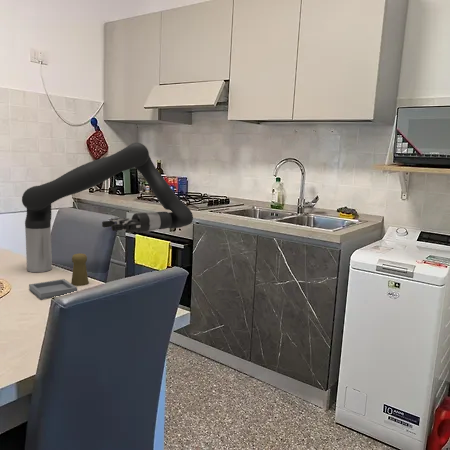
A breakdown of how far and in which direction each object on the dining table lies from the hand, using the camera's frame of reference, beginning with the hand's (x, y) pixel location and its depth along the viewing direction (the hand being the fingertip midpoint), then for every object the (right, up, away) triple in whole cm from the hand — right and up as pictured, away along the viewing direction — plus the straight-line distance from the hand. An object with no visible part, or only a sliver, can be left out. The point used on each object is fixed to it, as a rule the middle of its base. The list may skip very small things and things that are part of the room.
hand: (107, 226), depth 164 cm
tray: (-15, -22, -13) cm, 30 cm away
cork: (-9, -21, -3) cm, 23 cm away
